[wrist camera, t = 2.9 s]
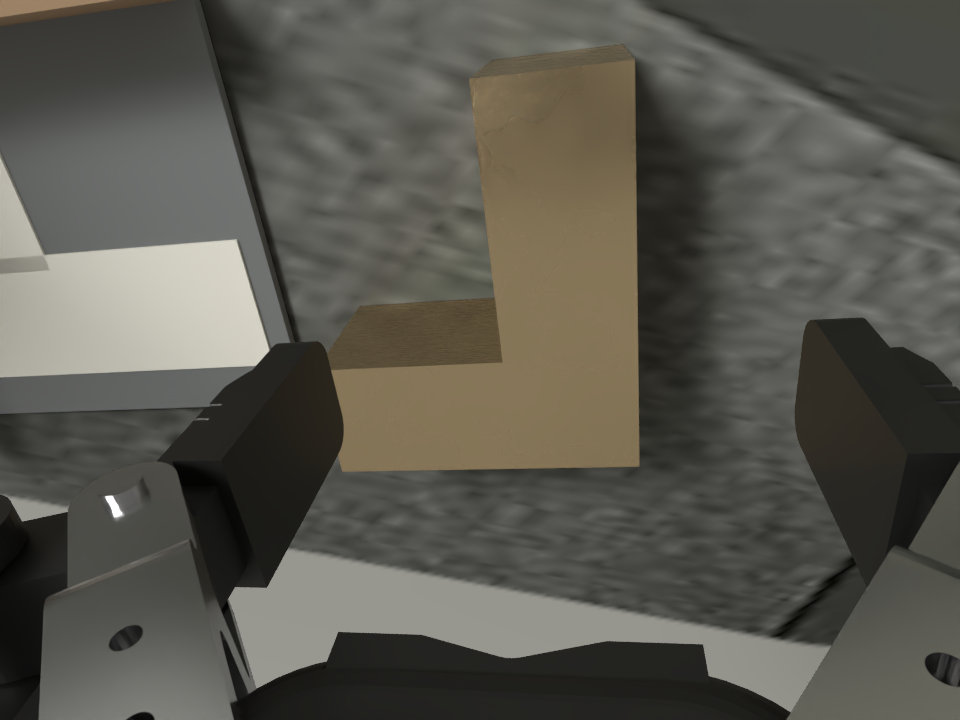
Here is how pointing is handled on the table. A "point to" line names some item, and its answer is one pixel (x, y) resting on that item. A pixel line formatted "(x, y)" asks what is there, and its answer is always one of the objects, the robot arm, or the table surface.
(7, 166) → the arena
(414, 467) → the bracket
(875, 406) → the robot arm
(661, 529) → the table surface
